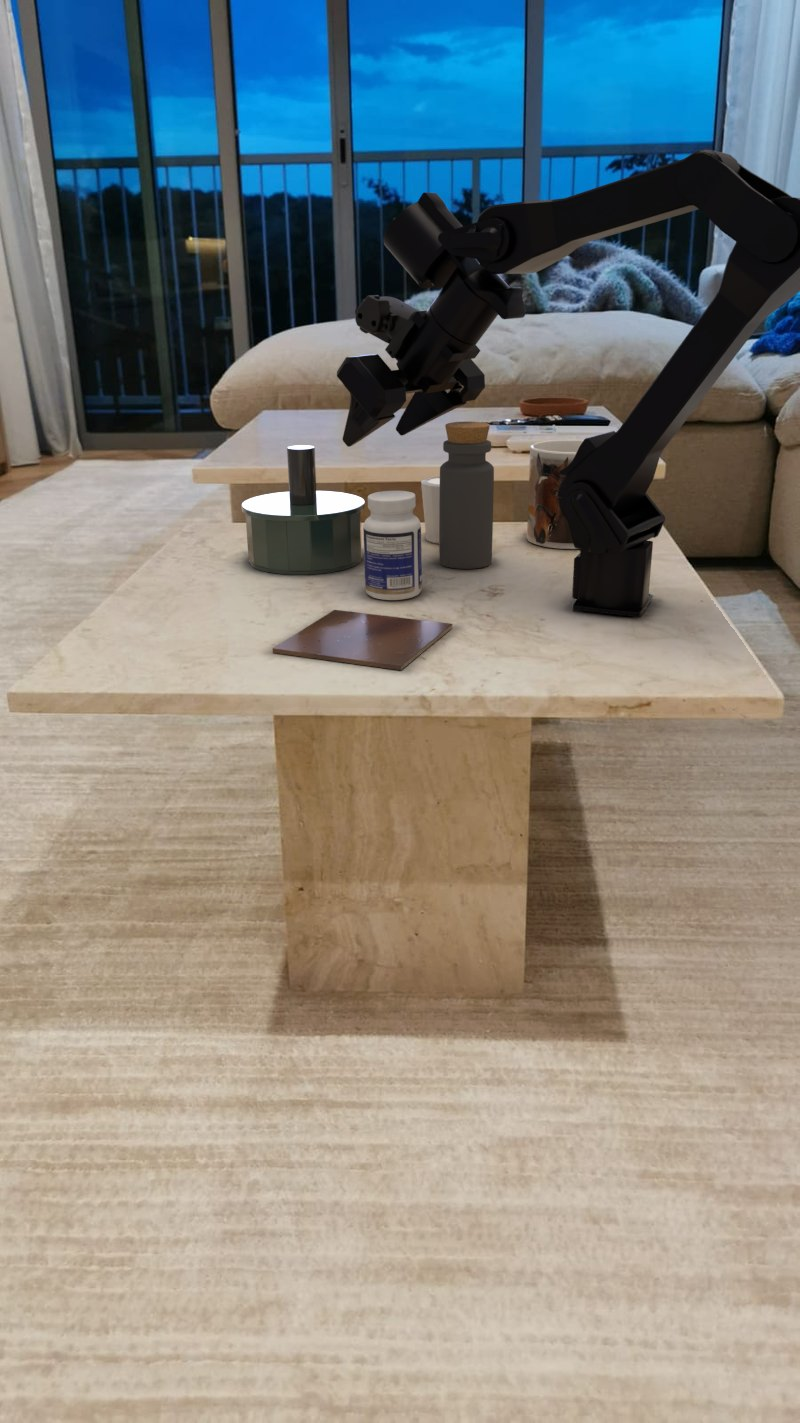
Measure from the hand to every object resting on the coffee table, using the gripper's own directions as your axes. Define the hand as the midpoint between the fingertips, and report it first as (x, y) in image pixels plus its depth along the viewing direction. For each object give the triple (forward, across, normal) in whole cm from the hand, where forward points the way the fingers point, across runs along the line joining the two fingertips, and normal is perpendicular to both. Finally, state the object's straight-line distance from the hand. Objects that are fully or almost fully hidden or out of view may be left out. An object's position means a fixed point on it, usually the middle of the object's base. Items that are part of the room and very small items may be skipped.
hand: (373, 437), depth 114 cm
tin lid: (+11, +3, 0) cm, 11 cm away
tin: (+15, +3, +4) cm, 16 cm away
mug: (+1, -21, +19) cm, 29 cm away
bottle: (+5, -6, +15) cm, 17 cm away
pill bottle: (+4, +9, +16) cm, 19 cm away
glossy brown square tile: (0, +22, +21) cm, 30 cm away
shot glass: (+10, -14, +10) cm, 20 cm away
